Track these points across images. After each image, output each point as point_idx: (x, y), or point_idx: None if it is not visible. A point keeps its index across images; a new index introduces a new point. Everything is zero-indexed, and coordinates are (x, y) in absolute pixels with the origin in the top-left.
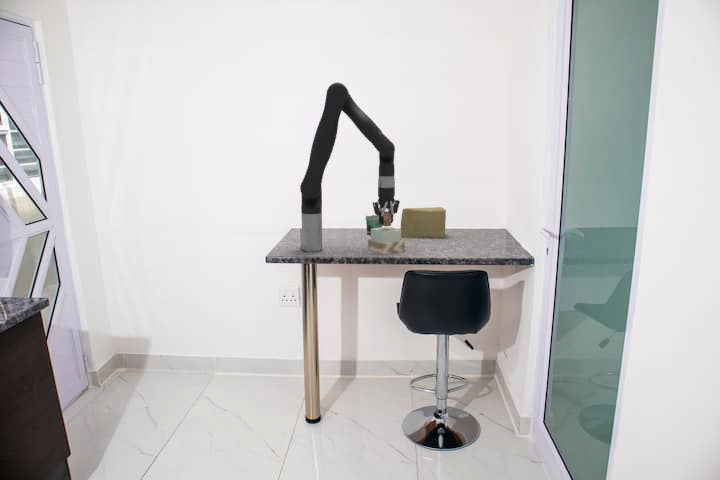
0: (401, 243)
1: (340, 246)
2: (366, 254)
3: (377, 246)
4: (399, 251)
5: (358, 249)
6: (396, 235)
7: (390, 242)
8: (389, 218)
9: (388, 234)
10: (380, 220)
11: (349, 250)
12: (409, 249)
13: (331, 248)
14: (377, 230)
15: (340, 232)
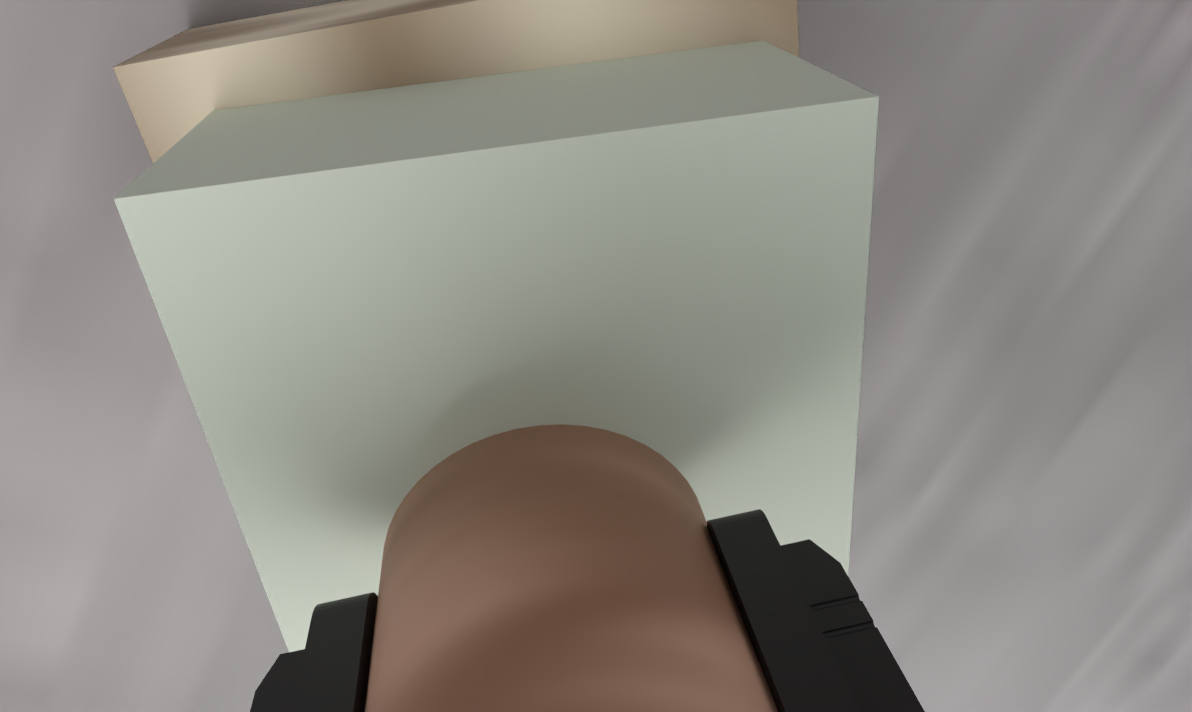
0: (234, 37)
1: (983, 610)
2: (969, 79)
3: None
4: (320, 6)
5: (884, 413)
6: (340, 128)
7: (536, 68)
8: (515, 636)
9: (634, 104)
10: (869, 614)
11: (1021, 402)
12: (41, 104)
13: (1132, 557)
14: (830, 413)
15: None
